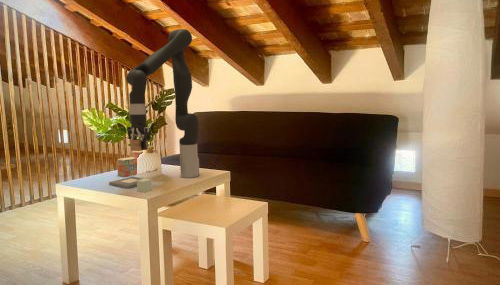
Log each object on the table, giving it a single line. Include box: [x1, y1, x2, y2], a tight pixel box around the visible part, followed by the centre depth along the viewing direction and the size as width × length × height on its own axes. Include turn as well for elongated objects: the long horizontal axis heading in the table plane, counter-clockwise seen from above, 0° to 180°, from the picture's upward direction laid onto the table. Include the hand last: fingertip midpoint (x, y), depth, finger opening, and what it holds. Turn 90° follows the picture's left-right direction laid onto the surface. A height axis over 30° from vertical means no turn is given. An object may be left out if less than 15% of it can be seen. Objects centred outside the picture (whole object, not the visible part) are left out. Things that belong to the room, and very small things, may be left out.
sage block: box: [136, 178, 153, 193], centre depth 179 cm, size 4×4×5 cm
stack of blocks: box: [116, 149, 157, 178], centre depth 216 cm, size 21×6×12 cm, turn 141°
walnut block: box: [129, 138, 149, 152], centre depth 187 cm, size 6×6×5 cm
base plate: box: [108, 176, 144, 190], centre depth 192 cm, size 14×14×2 cm
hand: (139, 148), depth 187 cm, fingers closed on walnut block, 5 cm apart
